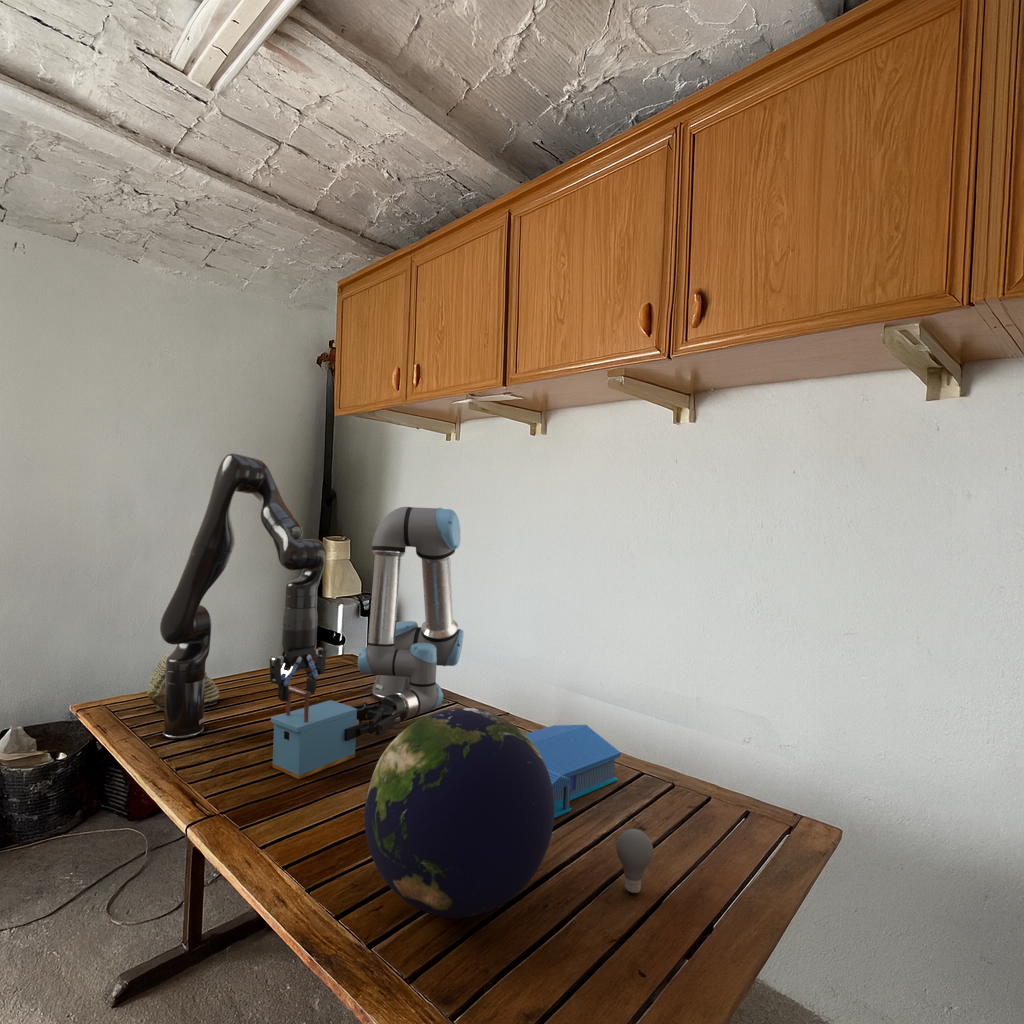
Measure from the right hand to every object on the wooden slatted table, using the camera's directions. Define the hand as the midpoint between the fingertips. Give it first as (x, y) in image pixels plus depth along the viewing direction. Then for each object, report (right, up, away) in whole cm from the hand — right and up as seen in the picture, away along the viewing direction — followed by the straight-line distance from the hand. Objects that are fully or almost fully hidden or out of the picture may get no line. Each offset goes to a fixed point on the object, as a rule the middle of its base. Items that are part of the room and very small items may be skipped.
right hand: (331, 729), depth 155 cm
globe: (+35, -9, -53) cm, 64 cm away
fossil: (-52, -4, +30) cm, 60 cm away
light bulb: (+64, -10, -49) cm, 81 cm away
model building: (+48, -9, -13) cm, 51 cm away
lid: (-3, +4, -4) cm, 7 cm away
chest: (-3, -6, -4) cm, 8 cm away
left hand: (-5, +10, -9) cm, 14 cm away
